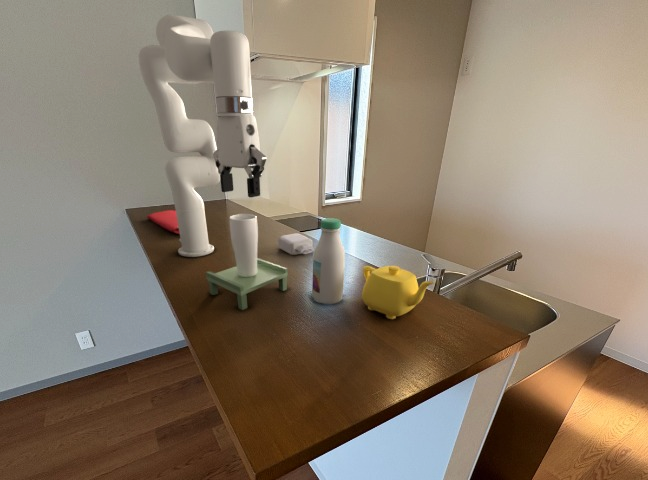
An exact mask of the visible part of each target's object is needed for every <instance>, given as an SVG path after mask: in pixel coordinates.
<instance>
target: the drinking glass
mask: <svg viewBox="0 0 648 480" xmlns="http://www.w3.org/2000/svg"><path fill="white" fill-rule="evenodd" d="M228 219H229V220H228V221H229V223H228V224H229V232H230V233H229V234H230V238H231V245H232V249H233V250H232V251H233V255H234V261H235V265H236V267H237V274H238V275H239V276H241V277H252V276H255V275H256V274H257V258H258V250H259V249H258V248H259V247H258V246H259V225H258V217H257V215H256V214H252V213H237V214H233V215H230V216H229V218H228Z"/></svg>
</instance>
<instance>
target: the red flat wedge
mask: <svg viewBox="0 0 648 480" xmlns="http://www.w3.org/2000/svg"><path fill="white" fill-rule="evenodd" d="M146 218H147V219H148V220H150V221H152V222H153V223H155V224H156V225H158V226H160V227H161V228H163V229H165V230H166V231H169V232H171V233H174V234H178V235H180V233H179V227H178V221H177V216H176V210H171V209H170V210H163V211H162V210H161V211H157V212H153V213H150V214H147V216H146Z"/></svg>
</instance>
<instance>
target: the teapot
mask: <svg viewBox="0 0 648 480" xmlns="http://www.w3.org/2000/svg"><path fill="white" fill-rule="evenodd" d="M362 275H363V277H364V280H365V283H364V285H363V287H362V288H363V289H362V292H361V299H362V301H363V303H364V304H365V305H366V306H367V309H368V310H369V311H376V312H378V313H380V314H383V315H385V318H387V319H390V320H394V319H396V317H401V316H403V315H405V314H408V313H409V312H410V311H412V310H413V309H415V307H416V306H417V305H419V304H420V303H421V301H422V300H423V298H424V296H425V293H426V289H428V287H429V286H430V285H433V284H436V281H431V280H426V281H423V282H422V283H420V285H419V283H418V281H417V275H416V274H414V273H413V272H411V271H408V270H406V269H404V268H401V267H399V266H397V265H384V266H381V267H379V268H375V267H373V266H370V265H365V266H363V268H362Z"/></svg>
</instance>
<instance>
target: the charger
mask: <svg viewBox="0 0 648 480" xmlns="http://www.w3.org/2000/svg"><path fill="white" fill-rule="evenodd" d="M277 246H278V248H279V249H280V250H282V251H284V252H285V253H287V254H289V255H290V256H295V255H296V256H297V255H301V254H303V255H307V254H310V253H314V251H315V247H313V239H311V238H310V237H307V236H305V235H303V234H300V233H298V232H297V233H290V234H284V235H280V236H279V237H278V238H277Z"/></svg>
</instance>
